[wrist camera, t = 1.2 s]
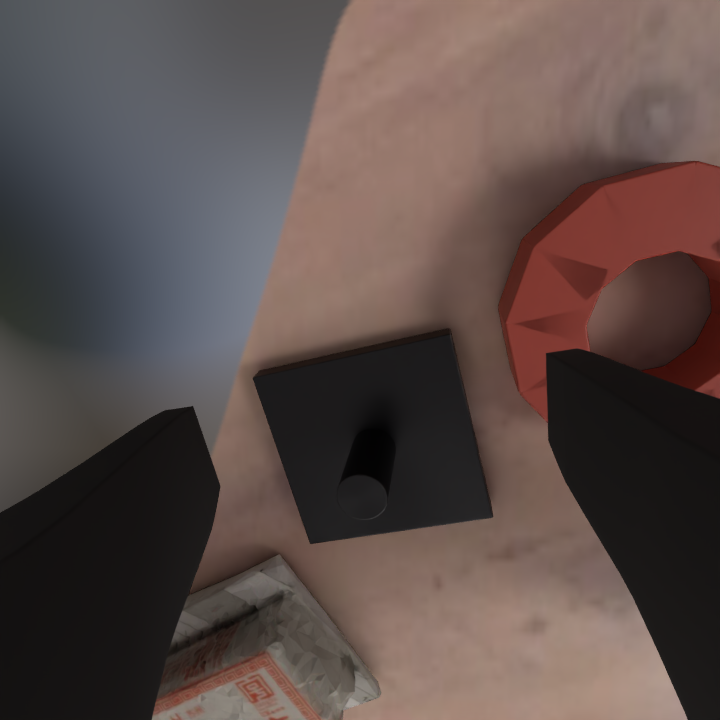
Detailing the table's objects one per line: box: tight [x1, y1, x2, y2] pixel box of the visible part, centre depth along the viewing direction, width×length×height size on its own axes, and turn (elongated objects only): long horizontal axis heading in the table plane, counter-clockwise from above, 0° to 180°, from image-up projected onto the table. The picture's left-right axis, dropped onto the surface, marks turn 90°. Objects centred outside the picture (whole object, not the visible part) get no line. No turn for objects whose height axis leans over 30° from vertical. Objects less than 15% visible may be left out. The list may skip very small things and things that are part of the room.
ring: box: [498, 161, 720, 423], centre depth 20 cm, size 11×11×3 cm
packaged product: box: [152, 554, 381, 720], centre depth 29 cm, size 18×5×10 cm
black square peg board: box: [253, 328, 493, 544], centre depth 23 cm, size 9×9×5 cm
